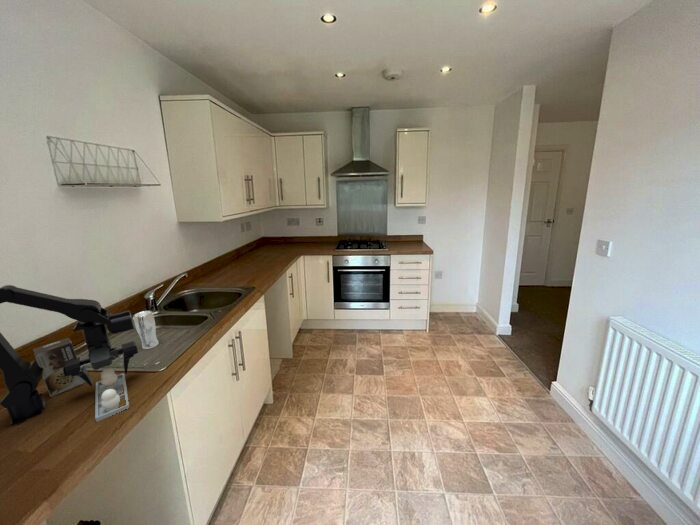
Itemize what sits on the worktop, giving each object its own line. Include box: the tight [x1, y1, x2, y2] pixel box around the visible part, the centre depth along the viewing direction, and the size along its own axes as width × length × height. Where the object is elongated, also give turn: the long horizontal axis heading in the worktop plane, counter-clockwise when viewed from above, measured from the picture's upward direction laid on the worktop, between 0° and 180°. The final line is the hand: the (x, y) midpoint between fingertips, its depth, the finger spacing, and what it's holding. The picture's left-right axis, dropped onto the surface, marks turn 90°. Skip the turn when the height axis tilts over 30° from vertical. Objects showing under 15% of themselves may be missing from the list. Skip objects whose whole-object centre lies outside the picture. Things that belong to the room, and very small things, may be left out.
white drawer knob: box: [101, 389, 120, 412], centre depth 88 cm, size 4×4×6 cm
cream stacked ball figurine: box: [100, 368, 118, 389], centre depth 99 cm, size 4×4×6 cm
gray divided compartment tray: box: [94, 372, 130, 423], centre depth 94 cm, size 8×22×2 cm, turn 40°
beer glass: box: [132, 310, 160, 350], centre depth 124 cm, size 7×7×15 cm
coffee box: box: [32, 337, 86, 398], centre depth 99 cm, size 9×6×16 cm
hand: (109, 379), depth 99 cm, fingers open, 9 cm apart
